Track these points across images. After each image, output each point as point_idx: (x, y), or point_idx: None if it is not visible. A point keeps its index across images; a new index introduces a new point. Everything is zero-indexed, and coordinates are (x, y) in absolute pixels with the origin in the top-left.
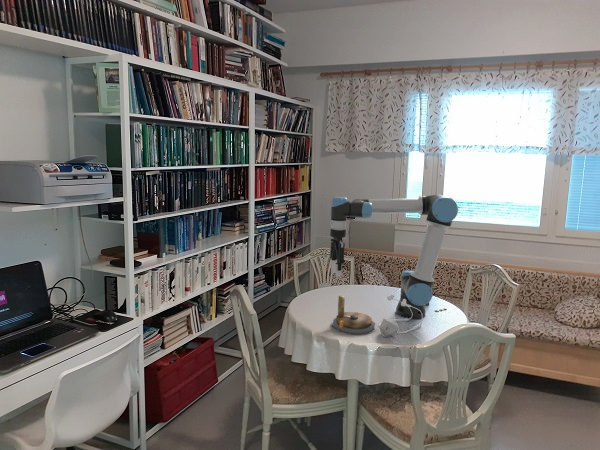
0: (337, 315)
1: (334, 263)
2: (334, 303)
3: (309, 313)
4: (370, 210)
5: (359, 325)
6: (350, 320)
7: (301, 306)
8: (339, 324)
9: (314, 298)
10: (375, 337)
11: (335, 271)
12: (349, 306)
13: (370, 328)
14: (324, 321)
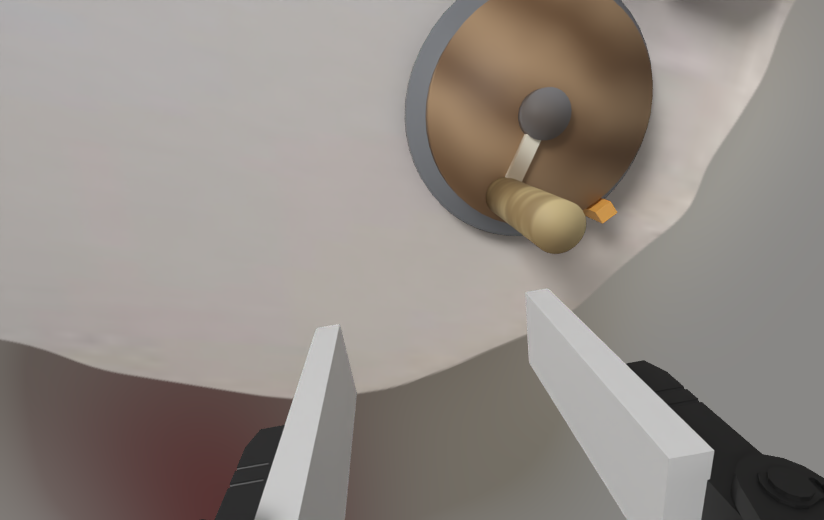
0: (485, 212)
1: (326, 501)
2: (107, 153)
3: (318, 322)
4: None
5: (648, 106)
6: (575, 148)
7: (208, 352)
8: (592, 218)
9: (30, 270)
10: (691, 24)
11: (340, 357)
12: (152, 53)
13: (638, 29)
14: (435, 262)
